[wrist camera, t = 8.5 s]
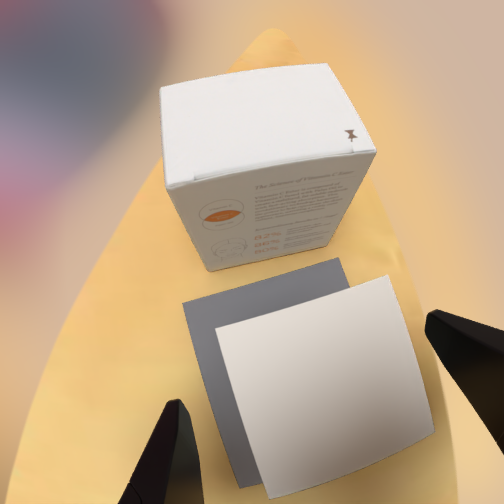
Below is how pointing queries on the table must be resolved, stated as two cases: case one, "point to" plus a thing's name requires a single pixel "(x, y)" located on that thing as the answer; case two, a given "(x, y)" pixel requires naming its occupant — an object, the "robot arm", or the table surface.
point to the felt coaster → (236, 310)
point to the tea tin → (326, 386)
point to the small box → (261, 160)
